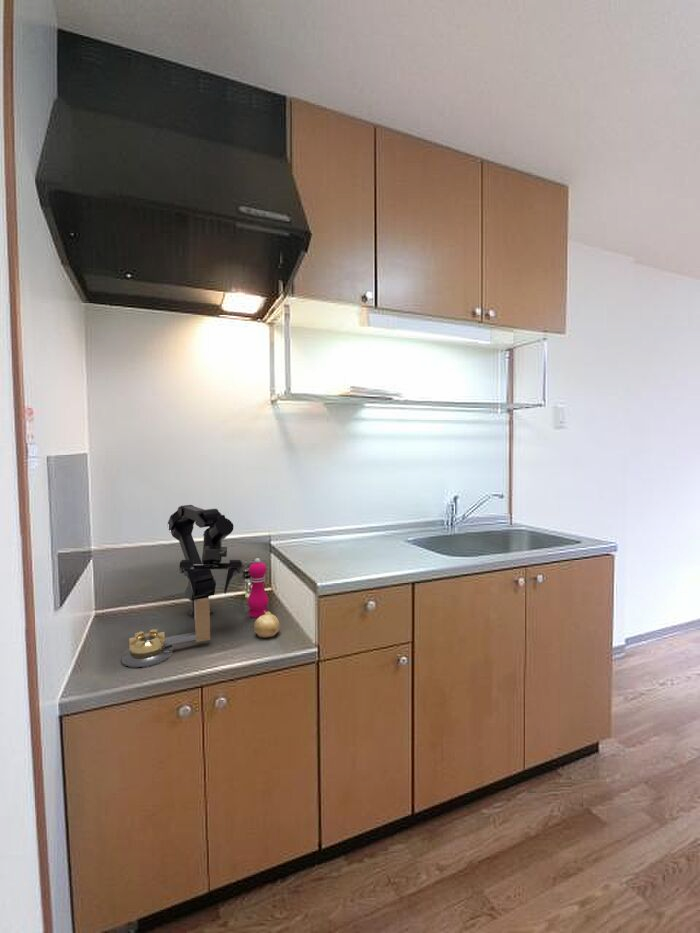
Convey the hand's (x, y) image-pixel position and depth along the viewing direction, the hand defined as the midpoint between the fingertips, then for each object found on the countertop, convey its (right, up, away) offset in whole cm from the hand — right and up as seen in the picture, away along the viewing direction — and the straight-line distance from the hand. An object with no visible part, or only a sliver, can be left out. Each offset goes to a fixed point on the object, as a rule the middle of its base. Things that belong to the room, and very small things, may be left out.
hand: (209, 593), depth 135 cm
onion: (+17, -14, +3) cm, 22 cm away
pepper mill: (+11, -13, +19) cm, 25 cm away
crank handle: (-9, -13, -8) cm, 17 cm away
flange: (-14, -15, -11) cm, 23 cm away
